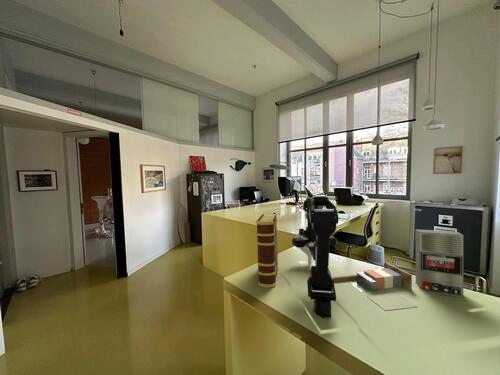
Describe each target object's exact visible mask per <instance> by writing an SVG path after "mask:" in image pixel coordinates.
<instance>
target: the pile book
mask: <svg viewBox="0 0 500 375" xmlns="http://www.w3.org/2000/svg"><path fill="white" fill-rule="evenodd" d="M366 297H367V298H369V300H371V301H372V302H373V303H375V304H376V305H377V306H378V307H380V308H381V309H382V310H383V311H385V312H387V311H394V310H395V311H396V310H403V309H412V308H413V309H414V308H419V306H418V305H416V304H415V303H413V302H412V301H410V300H409V299H407V298H406V297H404V296H403V295H401V294H399V293H398V292H391V293H384V294H383V293H382V294H372V295H366Z"/></svg>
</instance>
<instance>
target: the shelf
mask: <svg viewBox="0 0 500 375" xmlns="http://www.w3.org/2000/svg"><path fill="white" fill-rule="evenodd" d="M385 268H389V269H391V270H393V271H395V272H397V273H399V274H401V275H402V286H401V287H404V288H405V289H407V290H408V291H411V290H413V285H412V284H413V283H412V281H413V279H412V278H413V276H412V273H409V272H407V271H406V270H404V269H402V268H400V267H398V266H396V265H393V264H392V263H390V262H388V261H384V262H383V269H385ZM332 278H333V280H334V283H339V282H349V281H357V274H351V275H342V276H341V275H339V276H332Z"/></svg>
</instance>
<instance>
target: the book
mask: <svg viewBox="0 0 500 375" xmlns="http://www.w3.org/2000/svg"><path fill="white" fill-rule="evenodd" d="M380 269H381V270H383V271H385V272H387V273H389V274H390V275H392V276H393V287H392V288H398V287H399V288H400V287H403V286H402V275H401V274H399V273H397V272H395V271H393V270H391V269H389V268H385V269H384V268H380Z"/></svg>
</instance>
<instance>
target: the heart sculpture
mask: <svg viewBox="0 0 500 375" xmlns="http://www.w3.org/2000/svg"><path fill="white" fill-rule="evenodd" d="M300 237H301V238H302V239H304V240H305V239H308V238H303V236H300V235H299V232H298V233H296V234H295V237H294V238H300ZM299 249H300V251H301V252H302V253H303V254H305V255H306V256H307V261H305V260H301V261H300V260H299V261H298V265H302V266H306V267H310V268H311V267H312V266H315V263H314V262H313V257H312V255H311V252H310V250H309V248H308V247H307V246H305V247H301V248H299Z"/></svg>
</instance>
